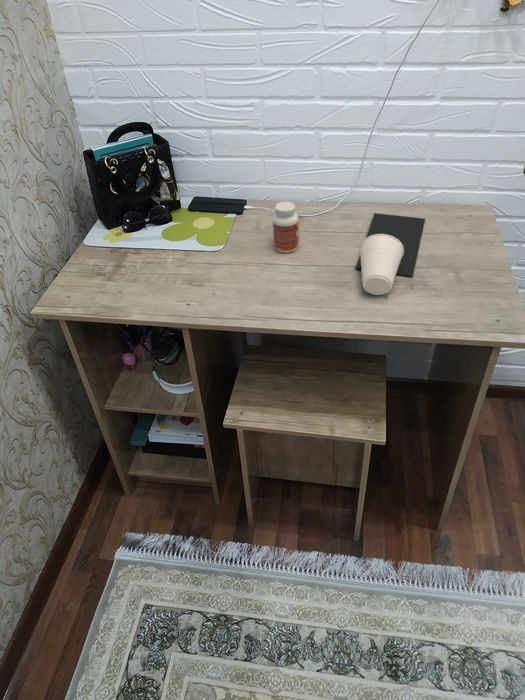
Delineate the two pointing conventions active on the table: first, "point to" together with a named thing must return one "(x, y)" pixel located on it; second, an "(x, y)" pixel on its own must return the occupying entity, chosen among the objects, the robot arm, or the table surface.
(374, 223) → the mat
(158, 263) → the table surface
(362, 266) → the cup
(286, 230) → the pill bottle
